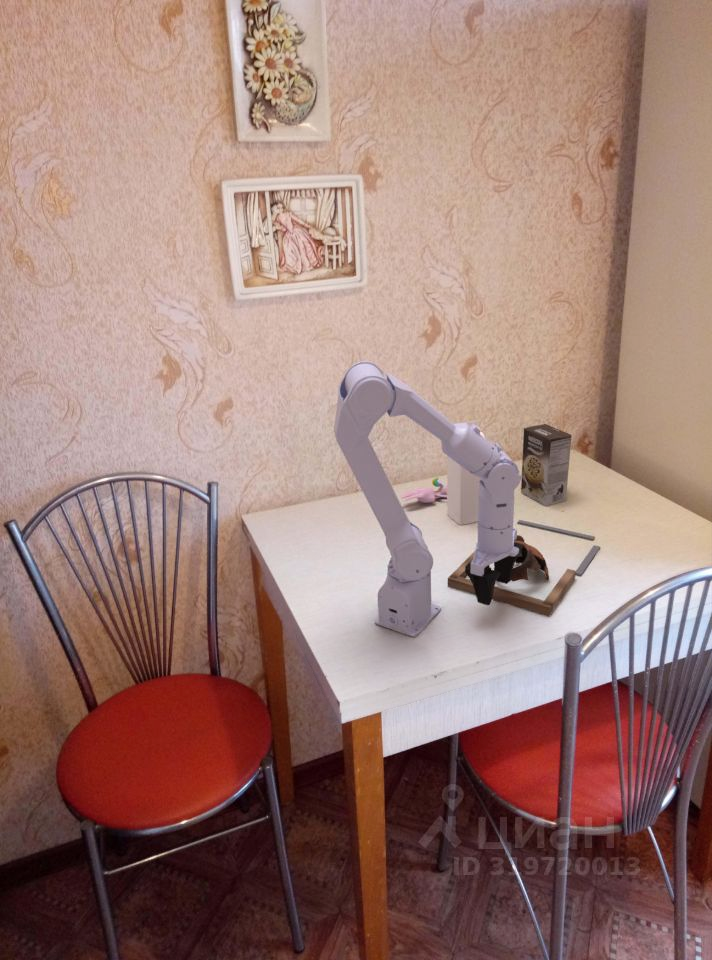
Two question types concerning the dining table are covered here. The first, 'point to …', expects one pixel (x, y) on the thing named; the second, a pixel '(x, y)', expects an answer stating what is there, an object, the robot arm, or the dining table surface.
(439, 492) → the rabbit figure
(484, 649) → the dining table surface
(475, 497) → the milk
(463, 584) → the walnut holder
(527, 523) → the grey open frame
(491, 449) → the robot arm
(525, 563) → the pottery mug
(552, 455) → the coffee box
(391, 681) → the dining table surface
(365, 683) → the dining table surface
